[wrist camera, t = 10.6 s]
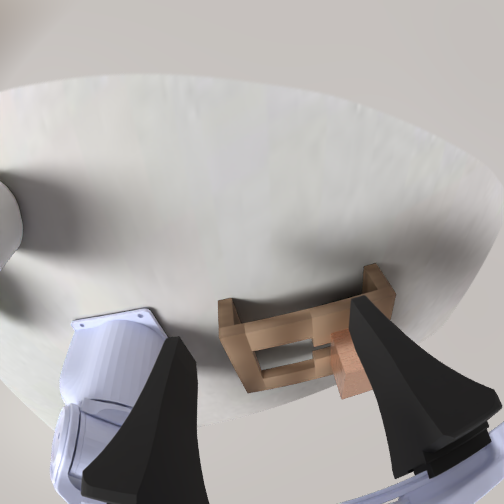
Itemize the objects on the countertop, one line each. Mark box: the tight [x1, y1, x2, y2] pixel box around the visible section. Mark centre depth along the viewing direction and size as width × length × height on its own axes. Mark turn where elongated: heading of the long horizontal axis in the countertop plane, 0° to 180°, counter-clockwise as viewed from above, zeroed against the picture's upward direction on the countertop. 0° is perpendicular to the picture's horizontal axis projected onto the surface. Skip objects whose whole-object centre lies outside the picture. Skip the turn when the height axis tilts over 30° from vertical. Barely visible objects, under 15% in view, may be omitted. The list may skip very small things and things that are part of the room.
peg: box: [330, 328, 373, 399], centre depth 23 cm, size 4×5×7 cm
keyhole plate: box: [218, 263, 396, 393], centre depth 25 cm, size 14×10×4 cm
